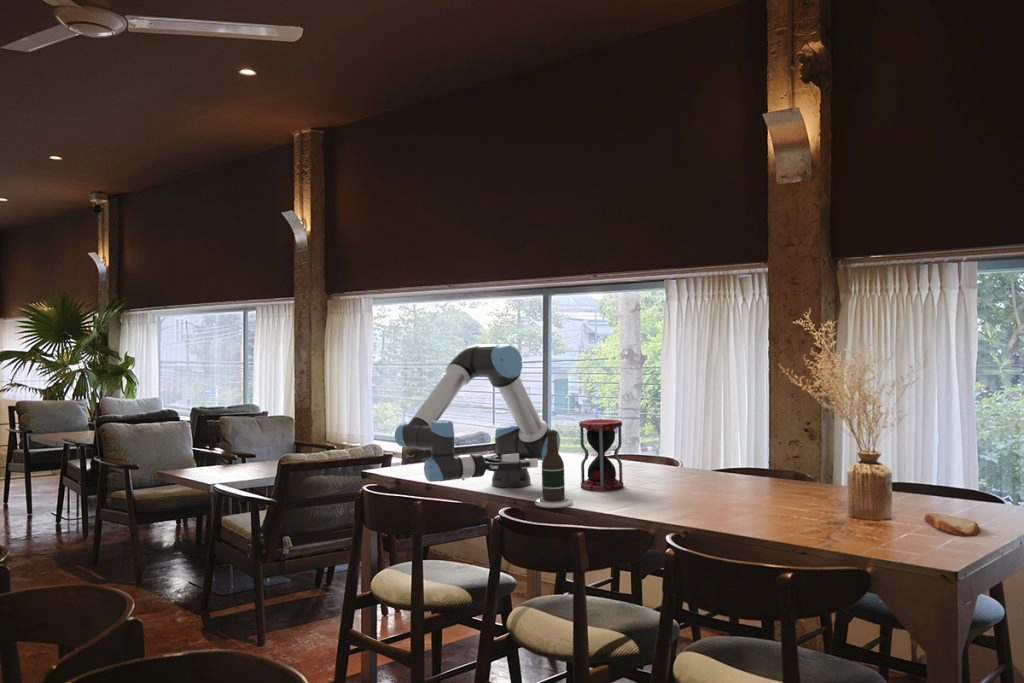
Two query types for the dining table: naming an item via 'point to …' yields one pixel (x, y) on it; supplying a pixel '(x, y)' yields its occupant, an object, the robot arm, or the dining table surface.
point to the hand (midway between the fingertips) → (527, 459)
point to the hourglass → (601, 455)
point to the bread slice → (952, 524)
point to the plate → (554, 503)
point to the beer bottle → (553, 471)
